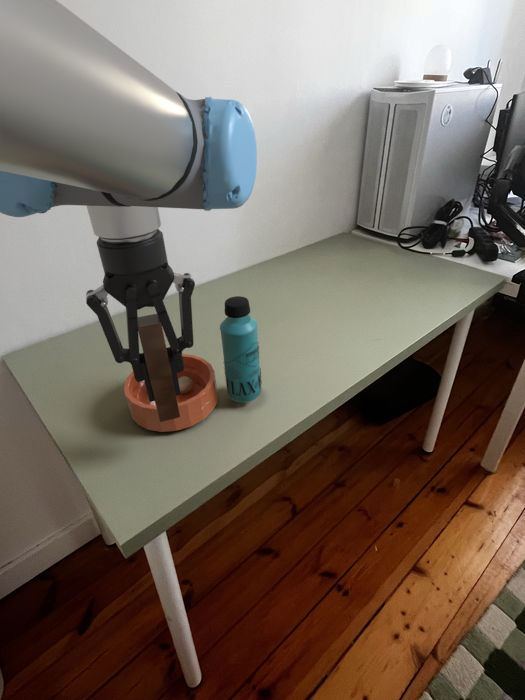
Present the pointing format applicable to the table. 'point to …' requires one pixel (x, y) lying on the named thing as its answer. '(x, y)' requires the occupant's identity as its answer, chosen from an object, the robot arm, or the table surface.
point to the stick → (158, 366)
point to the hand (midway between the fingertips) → (164, 392)
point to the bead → (185, 384)
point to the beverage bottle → (240, 351)
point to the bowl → (189, 404)
